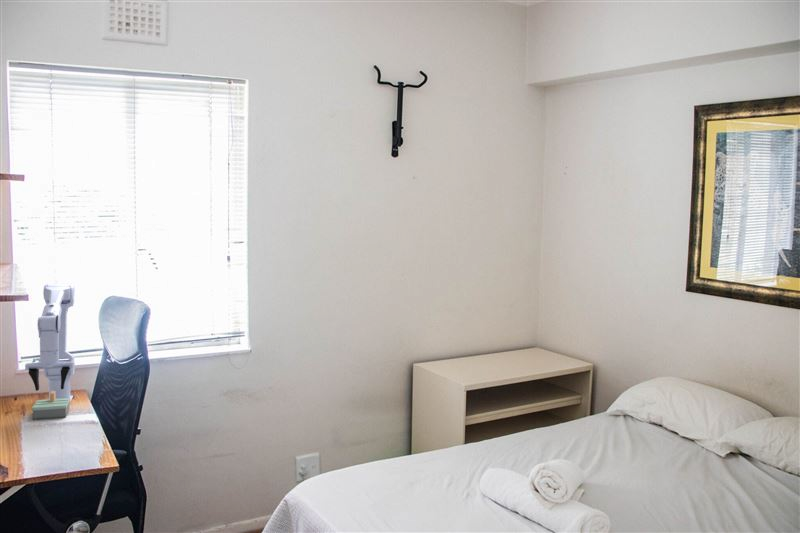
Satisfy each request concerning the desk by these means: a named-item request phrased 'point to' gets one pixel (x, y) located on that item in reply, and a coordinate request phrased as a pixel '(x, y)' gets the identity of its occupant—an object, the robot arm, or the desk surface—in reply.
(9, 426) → the desk surface
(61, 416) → the tub
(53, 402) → the lid
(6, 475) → the desk surface
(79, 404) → the desk surface
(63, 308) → the robot arm
